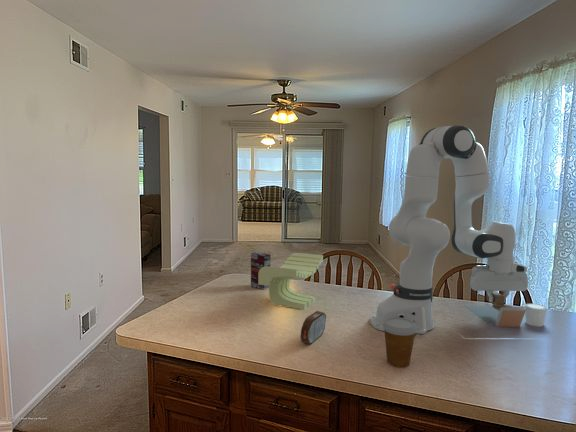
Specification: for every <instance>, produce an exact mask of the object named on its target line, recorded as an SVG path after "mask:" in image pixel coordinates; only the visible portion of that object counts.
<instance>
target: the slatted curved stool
mask: <svg viewBox="0 0 576 432" xmlns="http://www.w3.org/2000/svg"><path fill="white" fill-rule="evenodd" d="M323 261H324V255H323V254H315V253H305V252H304V253H303V252H293V253H291V254H290V255H288V257H287V258H286V260H285V261H284V262H283V264H282V265H281V266H279V267H276V266H270V267H268V266H264V267H262V268H261V269H260V270H259V273H258V284H259V285H267V286H268V287H269V288H268V297H269V300H270V302H271V303H272V305H274V306H278V305H281V306H280V307H284V306H286V307H285V308H291V307H293V308H292V309H297V308H300V309H299V310H306V309H307V308H308V307H310V306H311V305H312V304H313V303H314V302H315V301H316V298H315V295H314V296H313V295H312V296H311V295H306V294H301V293H298V292H295V291H294V290H292V289H291V287H290V281H291V280H292V279H299V280H305V279H307V278H309V277H311V276H312V275H314V274H315V273H317V270H319V266H321V265H322V263H323ZM312 302H313V303H312ZM311 303H312V304H311ZM307 306H308V307H307ZM306 307H307V308H306Z"/></svg>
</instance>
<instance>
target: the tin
mask: <svg viewBox="0 0 576 432" xmlns="http://www.w3.org/2000/svg"><path fill="white" fill-rule="evenodd" d="M326 320H327V314H326V313H325V312H322V311H319V310H316V311H314V312H313V313H311V314H309V315H308V316H307V317H306V318H305V319H304V321H303V323H302V325H301V329H300V341H301V342H302V343H303V344H308V345H312V344H313V343H315V341H317V340H318V339H319V338H320V337H321V336H322V335H323V334H324V331H325V329H326V328H325V327H326V323H327V321H326Z"/></svg>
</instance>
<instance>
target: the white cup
mask: <svg viewBox="0 0 576 432" xmlns="http://www.w3.org/2000/svg"><path fill="white" fill-rule="evenodd" d="M524 306H525V307H524V309H525V310H526V311H525V314H524V317H525V324H527V325H529V326H531V327H532V326H533V327H543V326H544V325H545V319H546V316H547V309H548V308H547V306H545V305H542V304H538V303H525V304H524Z"/></svg>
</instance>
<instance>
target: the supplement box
mask: <svg viewBox="0 0 576 432" xmlns="http://www.w3.org/2000/svg"><path fill="white" fill-rule="evenodd" d="M271 256H272V255H271V254H269V253H264V252H259V251H256V252H252V253H250V287H251V286H253V287H252V288H256V287H257V288H256V289H259V288H261V289H260V290H263V289H265V290H268V289H269V287H268V286H267V285H259V284H258V273H259V270H260V269H261V268H262V267H264V266H268V267H271V259H272V257H271ZM267 288H268V289H267Z"/></svg>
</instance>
